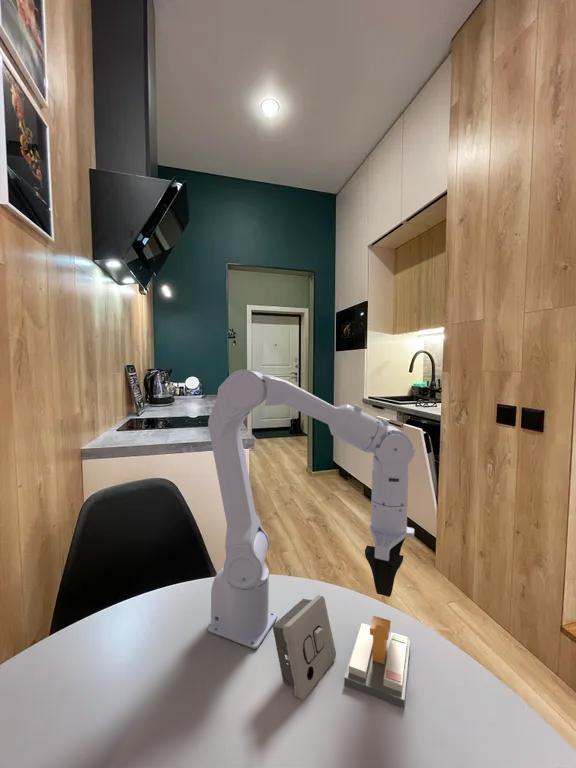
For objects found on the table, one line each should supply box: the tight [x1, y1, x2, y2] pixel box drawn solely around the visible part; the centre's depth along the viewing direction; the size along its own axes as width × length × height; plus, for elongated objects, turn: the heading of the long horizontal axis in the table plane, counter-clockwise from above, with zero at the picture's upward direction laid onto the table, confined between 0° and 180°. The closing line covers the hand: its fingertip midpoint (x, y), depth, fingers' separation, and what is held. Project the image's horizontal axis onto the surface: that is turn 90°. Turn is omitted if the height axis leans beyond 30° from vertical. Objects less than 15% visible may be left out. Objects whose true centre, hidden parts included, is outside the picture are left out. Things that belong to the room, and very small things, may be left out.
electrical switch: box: [272, 594, 337, 700], centre depth 50 cm, size 9×5×9 cm, turn 141°
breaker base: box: [343, 622, 411, 709], centre depth 51 cm, size 8×11×2 cm
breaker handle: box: [370, 615, 391, 665], centre depth 51 cm, size 3×3×5 cm
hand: (386, 580), depth 57 cm, fingers open, 7 cm apart
